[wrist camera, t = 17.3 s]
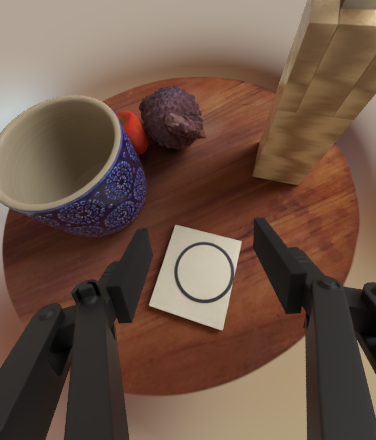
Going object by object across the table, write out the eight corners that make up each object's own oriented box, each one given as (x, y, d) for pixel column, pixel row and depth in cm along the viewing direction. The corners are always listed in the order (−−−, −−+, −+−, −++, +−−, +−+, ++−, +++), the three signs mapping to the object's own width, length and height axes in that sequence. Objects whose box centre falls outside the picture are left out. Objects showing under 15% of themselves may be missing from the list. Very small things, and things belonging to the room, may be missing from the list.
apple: (130, 168, 39) (103, 140, 33) (124, 148, 42) (99, 119, 36) (158, 152, 38) (136, 120, 32) (150, 133, 41) (128, 100, 35)
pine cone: (125, 135, 42) (120, 77, 36) (163, 130, 48) (165, 80, 42) (178, 167, 32) (184, 95, 26) (218, 157, 38) (231, 96, 32)
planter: (115, 149, 41) (67, 76, 27) (173, 194, 36) (151, 133, 22) (51, 207, 38) (-41, 157, 24) (106, 265, 33) (30, 245, 19)
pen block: (303, 148, 37) (422, -32, 17) (298, 185, 35) (430, 28, 14) (259, 141, 39) (317, -32, 18) (252, 176, 36) (309, 22, 16)
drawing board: (240, 242, 32) (241, 241, 31) (222, 329, 28) (222, 331, 27) (176, 226, 34) (175, 224, 33) (150, 305, 30) (148, 305, 29)
